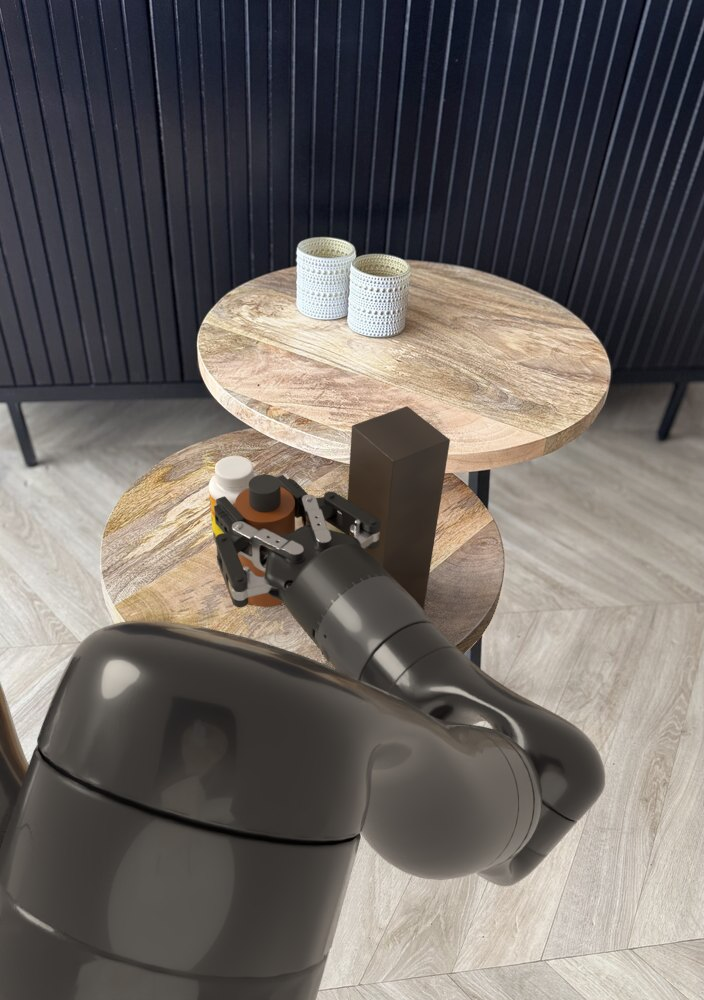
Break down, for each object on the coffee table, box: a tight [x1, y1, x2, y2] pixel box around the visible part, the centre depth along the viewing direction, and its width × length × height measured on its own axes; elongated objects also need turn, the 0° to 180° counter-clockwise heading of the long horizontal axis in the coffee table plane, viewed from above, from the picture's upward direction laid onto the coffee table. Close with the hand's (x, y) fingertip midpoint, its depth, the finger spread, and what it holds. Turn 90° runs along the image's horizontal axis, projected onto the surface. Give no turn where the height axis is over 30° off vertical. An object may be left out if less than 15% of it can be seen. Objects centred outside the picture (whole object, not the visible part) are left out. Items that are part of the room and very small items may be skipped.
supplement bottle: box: [208, 455, 258, 545], centre depth 86 cm, size 6×6×10 cm
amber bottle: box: [235, 473, 295, 608], centre depth 70 cm, size 5×5×12 cm
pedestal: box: [347, 405, 451, 611], centre depth 76 cm, size 6×6×22 cm
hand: (249, 495), depth 69 cm, fingers closed on amber bottle, 5 cm apart
